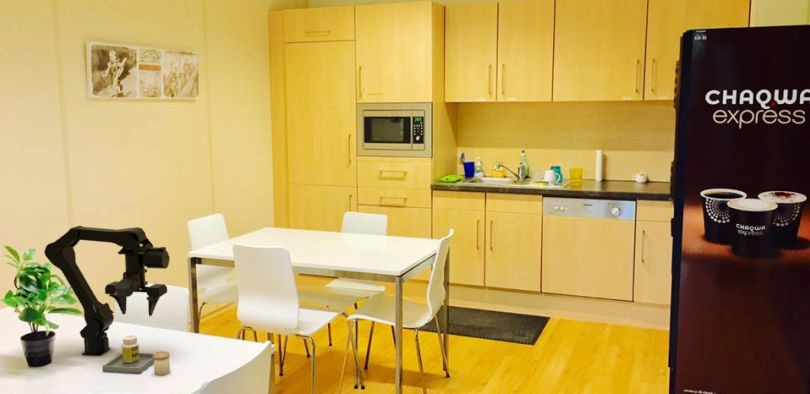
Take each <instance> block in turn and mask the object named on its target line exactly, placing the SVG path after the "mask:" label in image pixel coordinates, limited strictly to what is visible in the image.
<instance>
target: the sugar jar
mask: <svg viewBox="0 0 810 394" xmlns="http://www.w3.org/2000/svg"><path fill="white" fill-rule="evenodd" d="M152 354H153V359H154V364H153V367H154V368H153V369H154V371H153V372H154V375H155V376H166V375H168V374H170V373H171V369H170V367H171V366H170V357H171V354H170V351H165V350H164V351H158V352H154V353H152Z"/></svg>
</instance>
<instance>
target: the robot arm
mask: <svg viewBox="0 0 810 394" xmlns="http://www.w3.org/2000/svg"><path fill="white" fill-rule="evenodd" d="M80 241H88V242H99V243H100V242H101V243H111V244H115V245H116V246H119V247H122V248H121V249H120V250H119V251H117V254H118V255H124V263H125V264H124V265H125V267H124V268H125V271H123V274H122V279H120V280H119V281H112V282H110V283H108V284H106V285H105V287H104V294H105V295H108V296H109V297H111V298H113V299H114V300H115V302H116V303H117V305H118V307H119V309H120V312H121V314H122V315H123V316H124V315H126V314H127V302H128V301H127V299H128V297H131V296H132V295H133V294H134V293H146V296H147V297H146V300H147V303H148V316H149V317H152V316H153V313H154V311H155V308H156V305H157V304H158V301H159V300H160V298H161V297H162V296H164V295H165V294H167V293H168V287H167V286H166V284H164V283H163V284H162V283H154V284H152V285H150V286H148V285H149V283H148V280H147V281H146V273H148V269H165V270H166V269H167V268H168V267H169V265H170V255H169V252H168V250H167V247H166V246H160V247H157V246H156V247H154V245H153V243H152V241H150V239H149V238H148V237H147V235H146V232H145V230H144V229H143V228H141V227H139V226H136V227H128V228H127V227H125V228H119V229H116V228H115V229H113V228H112V229H111V228H103V227H91V226H82V225H76V226H73V227H71V228H69V229H68V231H67V232H66V233H64V234H63V235H62V236H60V237H59V238H57V239H56V240H55V241H52V242H50V243H47V244H46V246H45V249H44V251H43V252H44V253H43V254H44V256H45V257H46V258H47V260H48V261H49V262H50V263H51V264H52V265H53V266H54V267H55V268H57V269H59V270H60V271H61V273H62V274H63V276H64V277H65V280H66V282H67V283H68V284H69V286H70V288H71V289H72V291H73V293H74V294H75V297H76V298H77V300H78V302H79V303H80V305H81V307H82V308H83V318H84V321H85V326H84V327H83V328H82V329H81V330H80V331H79V334H80V336H81V338H82V339H83V344H84V351H83V352H82V353H81V355H82V356H97V357H99V356H102V355H104V354H105V353H107V352H108V351H110V350H111V347H110V342H109V341H110V340H109V337H108V333H107V332H106V331H108V330H109V329H110V326H111V325H112V324H113V322H114V319H115V317H114V311H113V310H112V309H111V308H110V305H109V303H108V302H105V303H102V302H100V301H99V299H98V298H97V297H96V295H95V293H94V292H93V291H94V290H92V288H91V286H90V285H89V282H88V280H86V278H85V276H84V274H83V272H82V271H81V268H80V266H78V263H77V261H76V259H77V258H76V251H75V249H74V247H75V246H76V245H78V244H79V242H80Z"/></svg>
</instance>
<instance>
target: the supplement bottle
mask: <svg viewBox="0 0 810 394" xmlns="http://www.w3.org/2000/svg"><path fill="white" fill-rule="evenodd" d="M139 348H140V347H139V342H138V336H137V335H125V336H124V337H123V338H122V345H121V350H122V352H121V353H122V355H123V365H124V366H134V365H137V364H138V363H139V353H140V350H139Z"/></svg>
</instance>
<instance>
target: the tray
mask: <svg viewBox="0 0 810 394" xmlns="http://www.w3.org/2000/svg"><path fill="white" fill-rule="evenodd" d="M153 354H154V353H149V352H139V363H138V364H137V365H134V366H124V365H123V355H122V352H121V353H119V354H118V355H116V356H115V357H114V358H112V359H111V360H110V361H108V362H106V363H105V364H103V365H102V373H103V372H104V373H112V374H113V373H116V374H131V375H132V374H133V375H134V374H135V375H141V374H143V372H144V371H146V370H147V369H149V368H150V367H151V366H154V359H153Z"/></svg>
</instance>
